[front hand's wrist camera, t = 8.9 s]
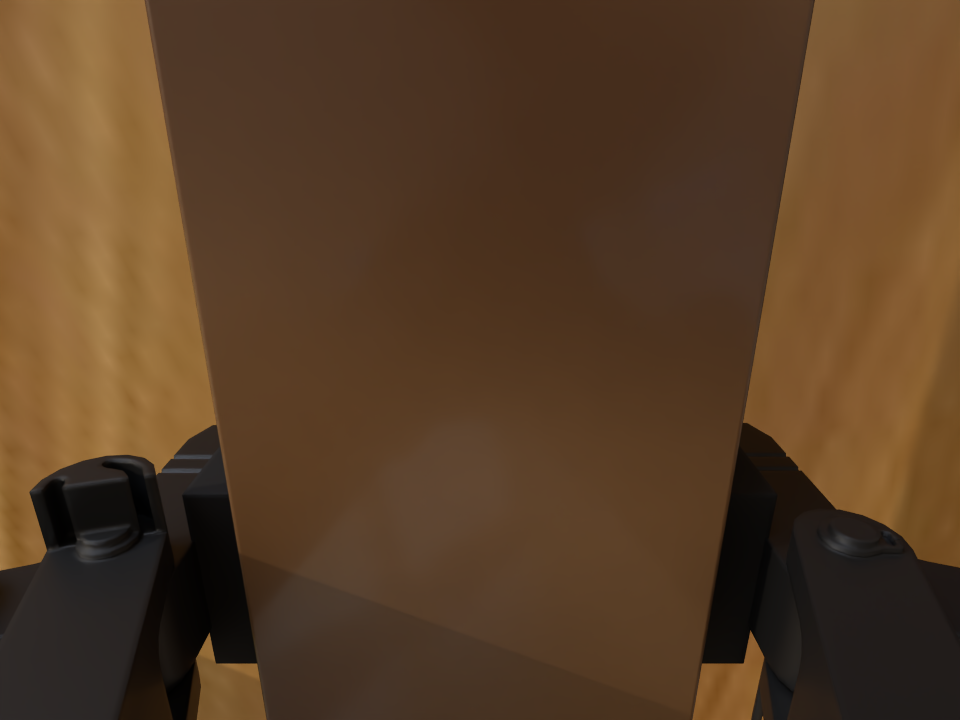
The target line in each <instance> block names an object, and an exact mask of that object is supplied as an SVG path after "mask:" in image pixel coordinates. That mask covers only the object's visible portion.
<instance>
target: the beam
mask: <svg viewBox="0 0 960 720" xmlns="http://www.w3.org/2000/svg"><path fill="white" fill-rule="evenodd" d="M814 1H815V0H145V5H146V11H147V17H148V23H149V28H150V34H151V40H152V46H153V52H154V58H155V64H156V70H157V76H158V81H159V87H160V93H161V99H162V105H163V111H164V117H165V123H166V129H167V134H168V140H169V146H170V152H171V158H172V164H173V170H174V176H175V182H176V187H177V193H178V199H179V205H180V211H181V217H182V223H183V229H184V235H185V240H186V246H187V252H188V258H189V264H190V270H191V276H192V282H193V288H194V293H195V299H196V305H197V311H198V317H199V323H200V329H201V335H202V341H203V346H204V352H205V358H206V364H207V370H208V376H209V382H210V388H211V394H212V399H213V405H214V411H215V417H216V423H217V429H218V435H219V441H220V447H221V452H222V458H223V464H224V470H225V476H226V482H227V488H228V494H229V500H230V505H231V511H232V517H233V523H234V529H235V535H236V541H237V547H238V553H239V559H240V564H241V570H242V576H243V582H244V588H245V594H246V600H247V606H248V612H249V617H250V623H251V629H252V635H253V641H254V647H255V653H256V659H257V665H258V670H259V676H260V682H261V688H262V694H263V700H264V706H265V712H266V718H267V720H692V718H693V712H694V707H695V701H696V695H697V689H698V683H699V677H700V671H701V665H702V660H703V654H704V648H705V642H706V636H707V630H708V624H709V618H710V612H711V607H712V601H713V595H714V589H715V583H716V577H717V571H718V565H719V560H720V554H721V548H722V542H723V536H724V530H725V524H726V518H727V513H728V507H729V501H730V495H731V489H732V483H733V477H734V471H735V466H736V460H737V454H738V448H739V442H740V436H741V430H742V424H743V418H744V413H745V407H746V401H747V395H748V389H749V383H750V377H751V371H752V366H753V360H754V354H755V348H756V342H757V336H758V330H759V324H760V319H761V313H762V307H763V301H764V295H765V289H766V283H767V277H768V271H769V266H770V260H771V254H772V248H773V242H774V236H775V230H776V224H777V219H778V213H779V207H780V201H781V195H782V189H783V183H784V177H785V172H786V166H787V160H788V154H789V148H790V142H791V136H792V130H793V124H794V119H795V113H796V107H797V101H798V95H799V89H800V83H801V77H802V72H803V66H804V60H805V54H806V48H807V42H808V36H809V30H810V25H811V19H812V13H813V7H814Z"/></svg>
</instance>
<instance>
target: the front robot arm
mask: <svg viewBox="0 0 960 720" xmlns="http://www.w3.org/2000/svg"><path fill="white" fill-rule="evenodd" d="M30 495H31V499H32V502H33V505H34V509H35V512H36V515H37V518H38V522H39V525H40V528H41V532H42V535H43V538H44V541H45V545H46V548H47V552H46V554H45V556H44V558H43V560H42V562H40V563H36V564H32V565H27V566H22V567H17V568H12V569H7V570H2V571H0V720H197V712H198V705H199V697H200V689H201V684H200V677H199V671H198V667H197V662H196V657H197V655H198V654H199V652H200V650H201V648H202V646H203V644H204V642H205V640H206V638H207V636H208V634H209V632H210V637H211V641H212V646H213V651H214V656H215V661H216V663H257V659H256V653H255V647H254V641H253V635H252V629H251V623H250V617H249V612H248V606H247V600H246V594H245V588H244V582H243V576H242V570H241V564H240V559H239V553H238V547H237V541H236V535H235V529H234V523H233V517H232V511H231V505H230V500H229V494H228V488H227V482H226V476H225V470H224V464H223V458H222V452H221V447H220V441H219V435H218V429H217V425H212V426H211V427H209V428H207V429H206V430H204V431H202V432H200V433H199V434H197V435H195V436H194V437H192V438H190V439H189V440H188V441H187V442H186V443H185V444H184V445H183V446H182V447H181V449H180V450H179V451H178V452H177V453H176V454H175V455H174V459H171V460H170V461H169V462H168V463H167V464H166V465H165V466H164V468H163V469H162V473H158V474H157V475H156V473H155V468H154V464H152V463H151V462H149V461H148V460H147V459H145V458H142V457H137V456H131V455H115V456H104V457H99V458H94V459H89V460H85V461H81V462H79V463H76V464H73V465H70V466H68V467H65V468H62V469H60V470H58V471H56V472H55V473H53V474H51V475H49V476H48V477H46V478H44V479H42V480H41V481H40V482H39V483H38V484H37V485H36V486H35V487H34V488H33V489H32V490H31V491H30ZM750 630H751V632H752V634H753V636H754V638H755V639H756V641H757V643H758V645H759V647H760V649H761V651H762V653H763V655H764V662H763V667H762V671H761V676H760V681H759V685H758V690H757V694H756V699H755V704H754V708H753V713H752V719H751V720H762V716H763V718H764V720H960V568H958V567H953V566H948V565H943V564H937V563H932V562H927V561H923V560H919V559H917V557H916V555H915V553H914V551H913V549H912V548H911V547H910V546H909V545H908V543H907V542H906V541H905V540H904V539H903V537H902V536H900V535H899V534H897V533H896V532H894V531H893V530H891V529H890V528H888V527H887V526H885V525H884V524H882V523H879V522H877V521H875V520H872V519H870V518H868V517H865V516H863V515H859V514H855V513H851V512H847V511H843V510H836V509H835V508H834V506H833V505H832V504H831V503H830V502H829V501H828V500H827V499H826V497H825V496H824V495H823V494H822V493H821V492H820V491H819V490H818V489H817V487H816V486H815V485H814V484H813V483H812V482H811V481H810V480H809V479H808V477H807V476H806V475H805V474H804V473H803V472H802V471H798V466H797V465H796V464H795V463H794V462H793V461H792V460H791V459H790V457H786V453H785V452H784V451H783V450H782V448H781V447H780V446H779V445H778V444H777V443H776V442H775V441H774V440H773V438H772V437H770V436H768V435H767V434H765V433H763V432H762V431H760V430H758V429H756V428H755V427H753V426H751V425H749V424H748V423H743V424H742V430H741V436H740V442H739V448H738V454H737V460H736V466H735V471H734V477H733V483H732V489H731V495H730V501H729V507H728V513H727V518H726V524H725V530H724V536H723V542H722V548H721V554H720V560H719V565H718V571H717V577H716V583H715V589H714V595H713V601H712V607H711V612H710V618H709V624H708V630H707V636H706V642H705V648H704V654H703V660H702V663H744V659H745V654H746V649H747V644H748V639H749V634H750Z"/></svg>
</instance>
